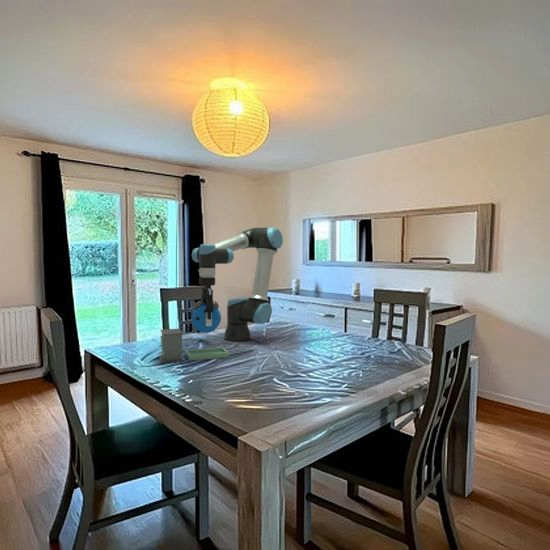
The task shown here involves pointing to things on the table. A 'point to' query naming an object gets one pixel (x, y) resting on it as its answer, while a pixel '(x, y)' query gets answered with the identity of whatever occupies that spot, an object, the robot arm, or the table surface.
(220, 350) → the green tray
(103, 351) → the table surface
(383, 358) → the table surface
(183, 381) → the table surface
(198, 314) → the alarm clock
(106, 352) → the table surface
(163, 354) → the box
